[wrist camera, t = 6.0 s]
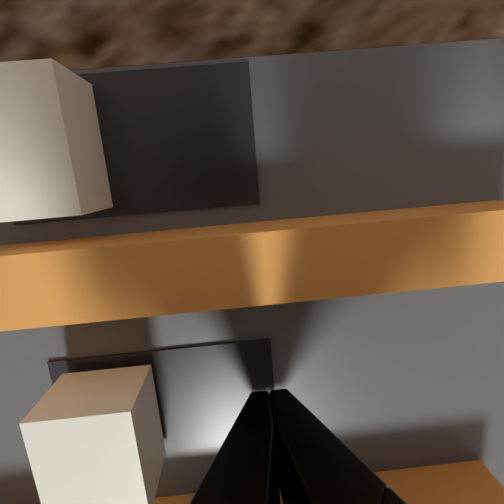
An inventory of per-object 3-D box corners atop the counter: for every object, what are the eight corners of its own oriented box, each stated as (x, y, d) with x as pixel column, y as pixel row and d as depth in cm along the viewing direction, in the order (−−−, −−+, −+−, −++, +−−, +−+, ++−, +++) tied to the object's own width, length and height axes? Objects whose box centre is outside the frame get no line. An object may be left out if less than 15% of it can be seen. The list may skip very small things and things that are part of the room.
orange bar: (499, 199, 8) (556, 205, 6) (494, 259, 8) (548, 277, 7) (-242, 267, 7) (-353, 289, 6) (-216, 328, 7) (-316, 363, 6)
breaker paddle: (151, 364, 8) (130, 411, 6) (165, 452, 8) (150, 516, 7) (62, 373, 8) (19, 423, 6) (82, 462, 8) (47, 529, 7)
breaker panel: (496, 72, 10) (710, -12, 5) (467, 492, 13) (587, 654, 9) (-218, 128, 9) (-637, 85, 5) (-61, 556, 13) (-223, 765, 8)
